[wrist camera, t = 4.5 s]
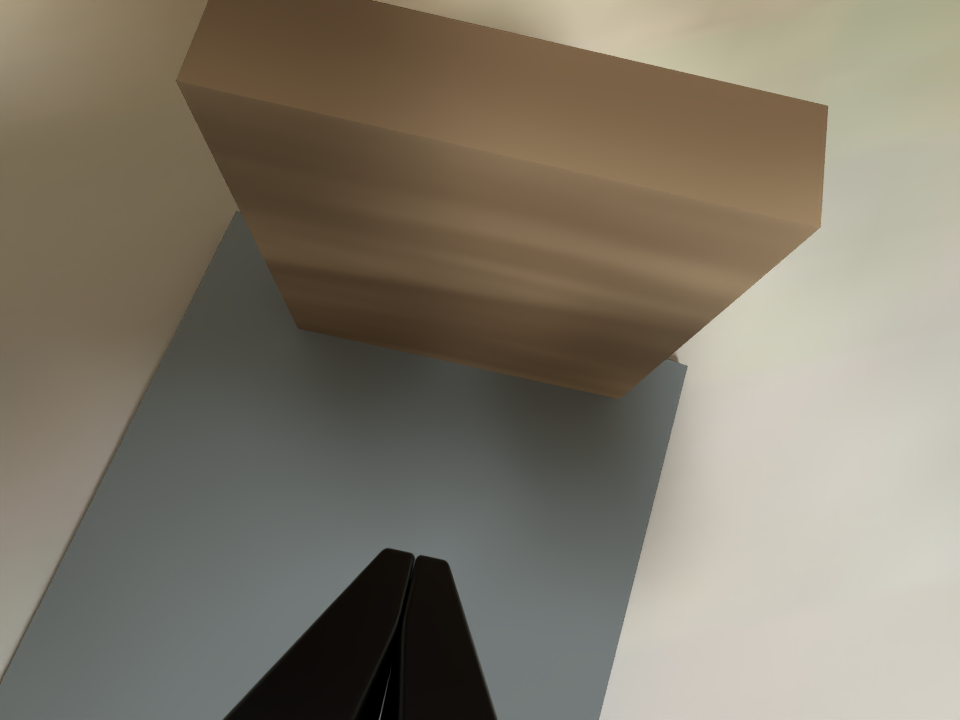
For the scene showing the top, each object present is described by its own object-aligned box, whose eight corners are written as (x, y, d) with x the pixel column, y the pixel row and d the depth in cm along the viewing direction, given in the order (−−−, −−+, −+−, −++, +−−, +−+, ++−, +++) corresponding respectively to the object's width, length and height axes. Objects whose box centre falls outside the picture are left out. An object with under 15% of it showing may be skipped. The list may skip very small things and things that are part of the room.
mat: (532, 958, 14) (536, 968, 14) (-28, 757, 14) (-40, 763, 14) (681, 370, 18) (687, 365, 18) (240, 218, 18) (236, 211, 18)
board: (619, 399, 17) (820, 227, 9) (297, 328, 17) (175, 80, 8) (629, 331, 18) (828, 106, 9) (317, 261, 18) (222, -35, 9)
